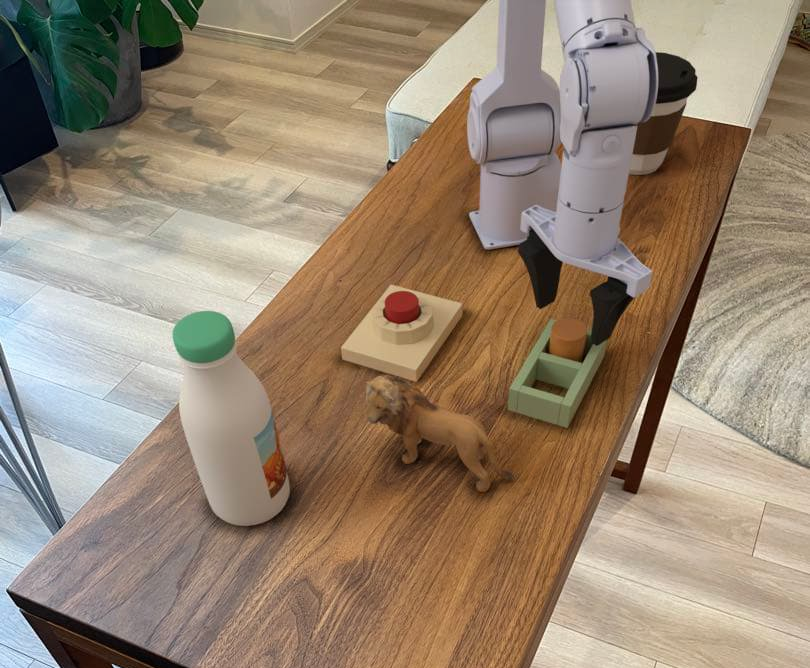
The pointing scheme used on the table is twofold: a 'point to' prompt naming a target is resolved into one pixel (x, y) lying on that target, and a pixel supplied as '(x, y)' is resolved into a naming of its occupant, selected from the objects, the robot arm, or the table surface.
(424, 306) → the box
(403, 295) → the button
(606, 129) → the robot arm
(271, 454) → the milk bottle
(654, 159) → the coffee cup
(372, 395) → the lion figurine
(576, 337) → the cylinder
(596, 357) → the pod holder
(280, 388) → the table surface
